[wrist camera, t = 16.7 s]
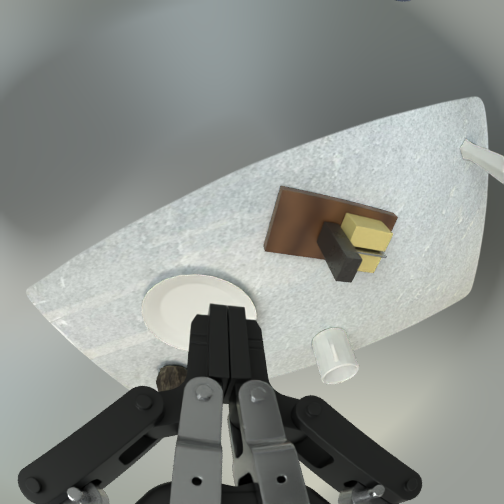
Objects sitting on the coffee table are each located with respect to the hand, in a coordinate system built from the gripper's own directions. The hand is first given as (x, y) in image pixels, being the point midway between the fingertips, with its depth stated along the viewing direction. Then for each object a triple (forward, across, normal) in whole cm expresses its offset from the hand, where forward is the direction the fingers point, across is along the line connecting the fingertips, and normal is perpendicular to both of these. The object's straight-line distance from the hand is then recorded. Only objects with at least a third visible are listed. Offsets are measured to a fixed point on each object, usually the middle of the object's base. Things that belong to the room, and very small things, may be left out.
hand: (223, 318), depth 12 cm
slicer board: (+27, -18, +8) cm, 33 cm away
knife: (+25, -20, +8) cm, 33 cm away
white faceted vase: (+27, -40, -14) cm, 50 cm away
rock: (+27, +4, +52) cm, 59 cm away
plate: (+27, 0, +28) cm, 39 cm away
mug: (+27, -28, +32) cm, 51 cm away
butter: (+25, -22, +8) cm, 34 cm away
